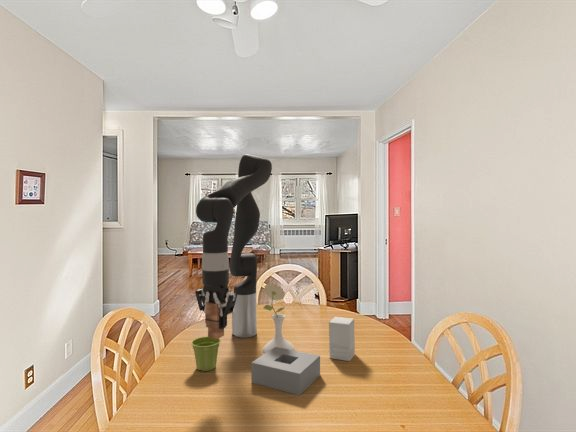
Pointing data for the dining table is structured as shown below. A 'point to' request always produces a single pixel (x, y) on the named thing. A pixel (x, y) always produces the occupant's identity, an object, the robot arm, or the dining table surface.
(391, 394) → the dining table surface
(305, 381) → the mortise board
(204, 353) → the plant pot
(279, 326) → the flower in vase
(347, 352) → the supplement box
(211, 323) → the peg
